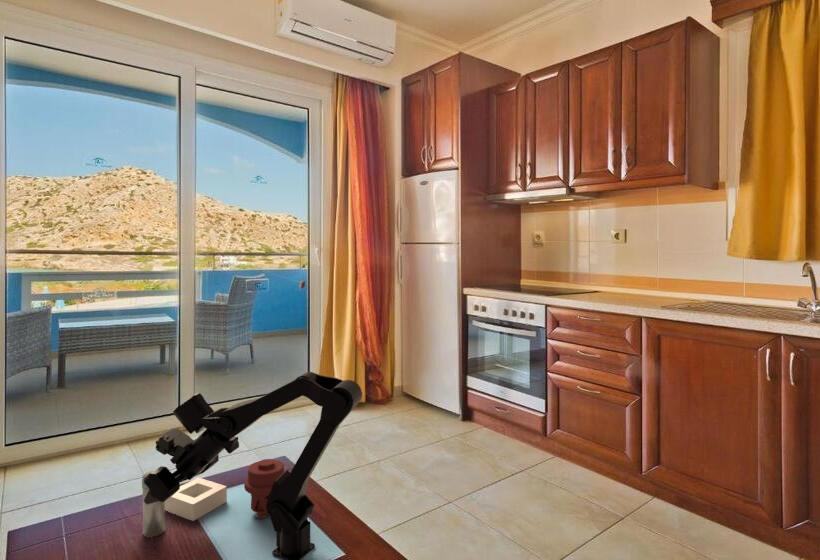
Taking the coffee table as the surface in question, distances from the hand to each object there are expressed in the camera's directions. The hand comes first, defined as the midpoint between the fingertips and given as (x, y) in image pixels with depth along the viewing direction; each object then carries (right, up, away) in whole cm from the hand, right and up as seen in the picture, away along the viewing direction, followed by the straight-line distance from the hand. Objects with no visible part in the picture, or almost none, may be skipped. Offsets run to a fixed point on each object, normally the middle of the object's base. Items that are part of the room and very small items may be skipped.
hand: (160, 492), depth 107 cm
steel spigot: (-2, -9, +1) cm, 9 cm away
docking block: (+3, -9, +12) cm, 15 cm away
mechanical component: (+21, -9, +10) cm, 25 cm away
